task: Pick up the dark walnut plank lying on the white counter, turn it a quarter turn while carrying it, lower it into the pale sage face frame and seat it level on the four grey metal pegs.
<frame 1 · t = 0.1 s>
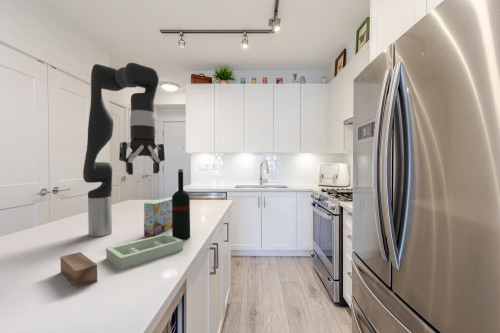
hand: (143, 174, 80), 29 cm above the countertop, fingers open, 8 cm apart
wine bottle: (180, 237, 106), on the countertop
peg frame: (146, 253, 86), on the countertop
walnut plank: (78, 277, 69), on the countertop
snack box: (162, 230, 116), on the countertop
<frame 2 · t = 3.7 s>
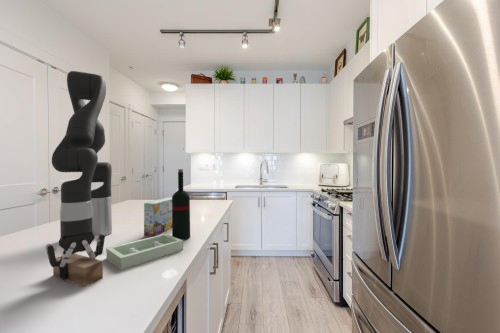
hand: (77, 274, 69), 1 cm above the countertop, fingers closed on walnut plank, 6 cm apart
walnut plank: (77, 276, 69), on the countertop, touching gripper
everything else where it was.
when the fingers open (5 cm above the countertop, at t = 9.9 s): walnut plank drops 2 cm, resting on peg frame.
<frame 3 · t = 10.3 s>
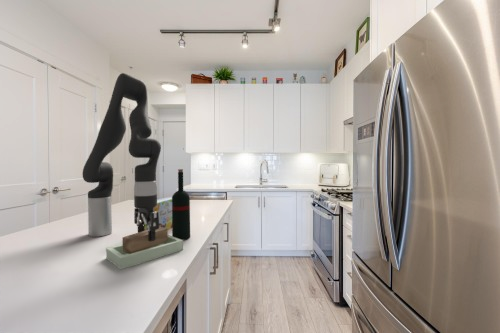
hand: (146, 238, 86), 6 cm above the countertop, fingers open, 8 cm apart
walnut plank: (146, 246, 86), point 3 cm above the countertop, touching peg frame
everything else where it was.
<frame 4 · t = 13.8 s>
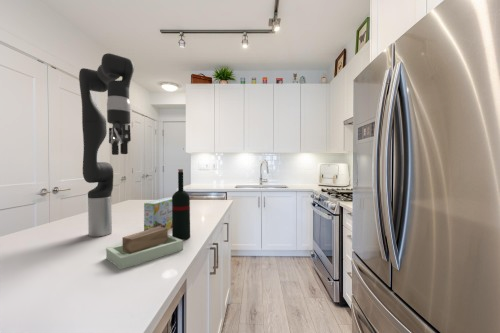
hand: (119, 154, 88), 36 cm above the countertop, fingers open, 8 cm apart
nothing on the countertop moved.
at the end: walnut plank 0.1 cm off-centre on the peg frame, point 2.7 cm above the peg frame's base; walnut plank tilted 0°; the gripper is holding nothing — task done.
